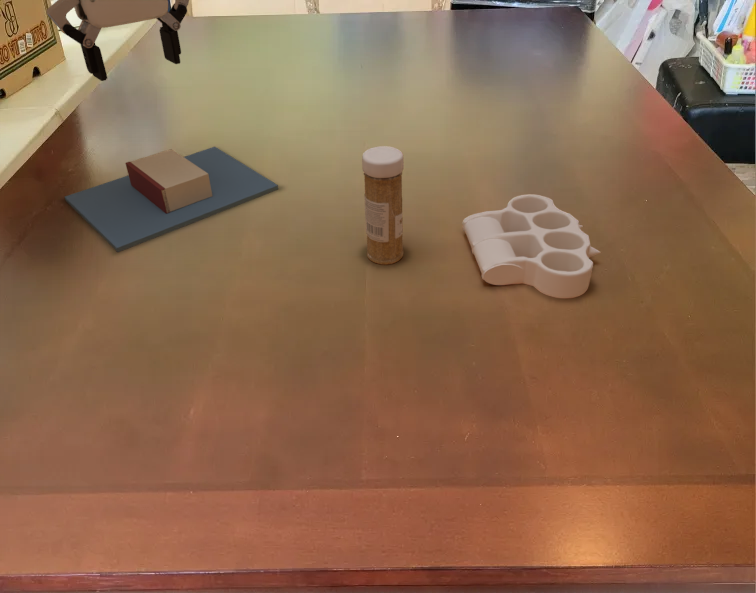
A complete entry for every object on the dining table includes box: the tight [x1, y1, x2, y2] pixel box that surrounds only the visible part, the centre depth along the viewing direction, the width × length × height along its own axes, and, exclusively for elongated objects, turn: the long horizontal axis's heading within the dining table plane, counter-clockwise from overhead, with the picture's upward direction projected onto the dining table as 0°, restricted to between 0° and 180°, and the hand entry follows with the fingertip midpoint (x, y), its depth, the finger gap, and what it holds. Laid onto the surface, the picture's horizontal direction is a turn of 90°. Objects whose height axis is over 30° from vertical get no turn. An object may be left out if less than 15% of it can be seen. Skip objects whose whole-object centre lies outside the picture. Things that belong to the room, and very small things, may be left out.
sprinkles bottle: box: [361, 145, 405, 266], centre depth 76 cm, size 5×5×13 cm
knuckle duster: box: [461, 193, 602, 299], centre depth 78 cm, size 3×18×15 cm
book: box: [124, 148, 212, 214], centre depth 92 cm, size 11×7×4 cm, turn 41°
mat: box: [64, 146, 279, 253], centre depth 93 cm, size 24×18×1 cm
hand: (137, 69), depth 83 cm, fingers open, 9 cm apart
